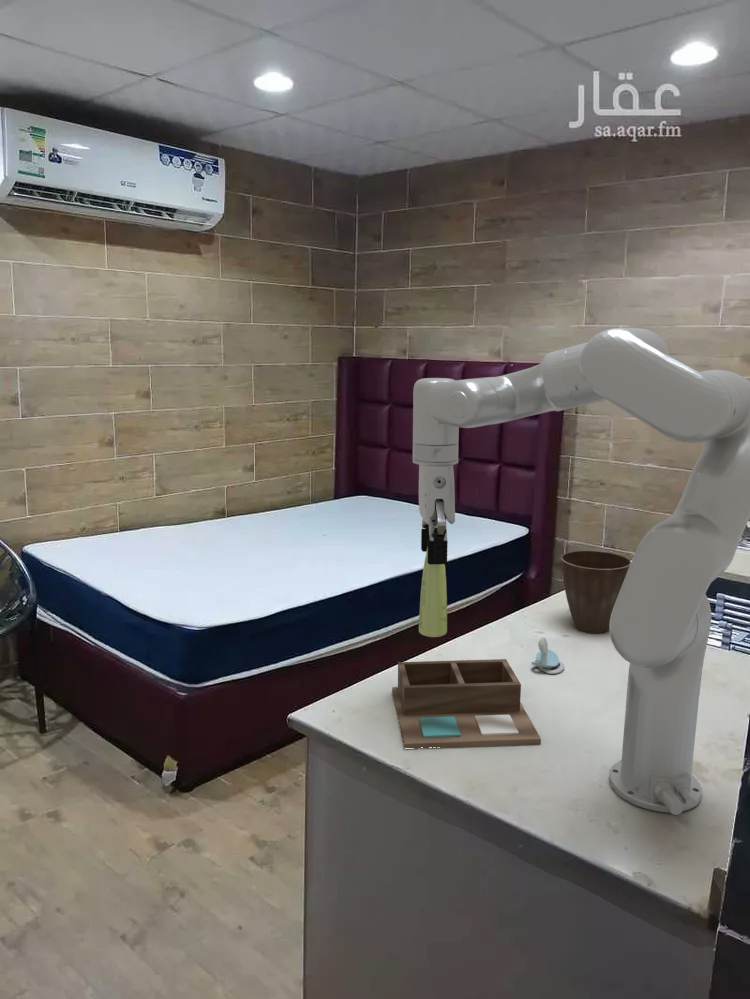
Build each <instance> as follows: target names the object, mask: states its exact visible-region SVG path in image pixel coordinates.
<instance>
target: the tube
mask: <svg viewBox="0 0 750 999" xmlns="http://www.w3.org/2000/svg"><path fill="white" fill-rule="evenodd" d="M436 522H437V520H436ZM435 528H437V527H434V528H433V531H434V529H435ZM433 533H434V532H433ZM427 559H428V547H427V552H426V553H425V558H424V563H423V569H422V570H423V571H422V577H421V584H420V585H421V588H420V598H419V600H420V601H419V617H418V632H419V634H421V635H422V636H425V637H429V638H439V637H443V636H445V635H446V634H447V632H448V597H447V596H448V594H447V576H446V575H447V574H446V573H447V572H446V564H432V565H430V564H428V562H427Z"/></svg>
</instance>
